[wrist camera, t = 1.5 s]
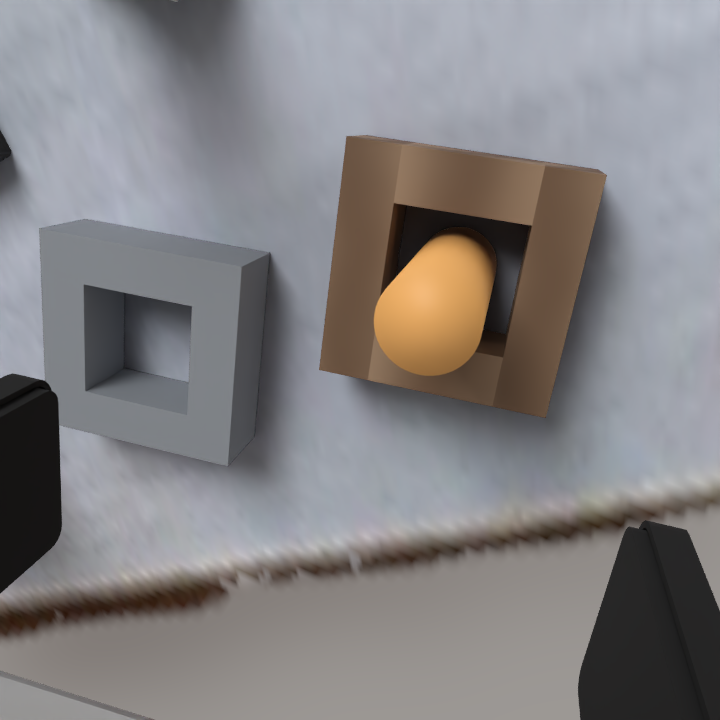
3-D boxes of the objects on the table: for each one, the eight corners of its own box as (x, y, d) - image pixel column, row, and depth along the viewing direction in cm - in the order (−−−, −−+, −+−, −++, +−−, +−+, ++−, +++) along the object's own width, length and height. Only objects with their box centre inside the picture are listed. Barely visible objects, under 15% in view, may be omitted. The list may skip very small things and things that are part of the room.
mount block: (597, 169, 28) (606, 175, 25) (544, 388, 32) (545, 417, 29) (366, 135, 30) (346, 136, 27) (339, 346, 33) (319, 369, 30)
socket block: (269, 252, 33) (241, 266, 30) (254, 436, 36) (227, 466, 33) (85, 218, 34) (39, 228, 31) (87, 397, 38) (46, 422, 35)
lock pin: (503, 233, 30) (492, 281, 21) (488, 309, 31) (471, 385, 22) (426, 220, 31) (381, 261, 21) (414, 295, 32) (367, 363, 23)
